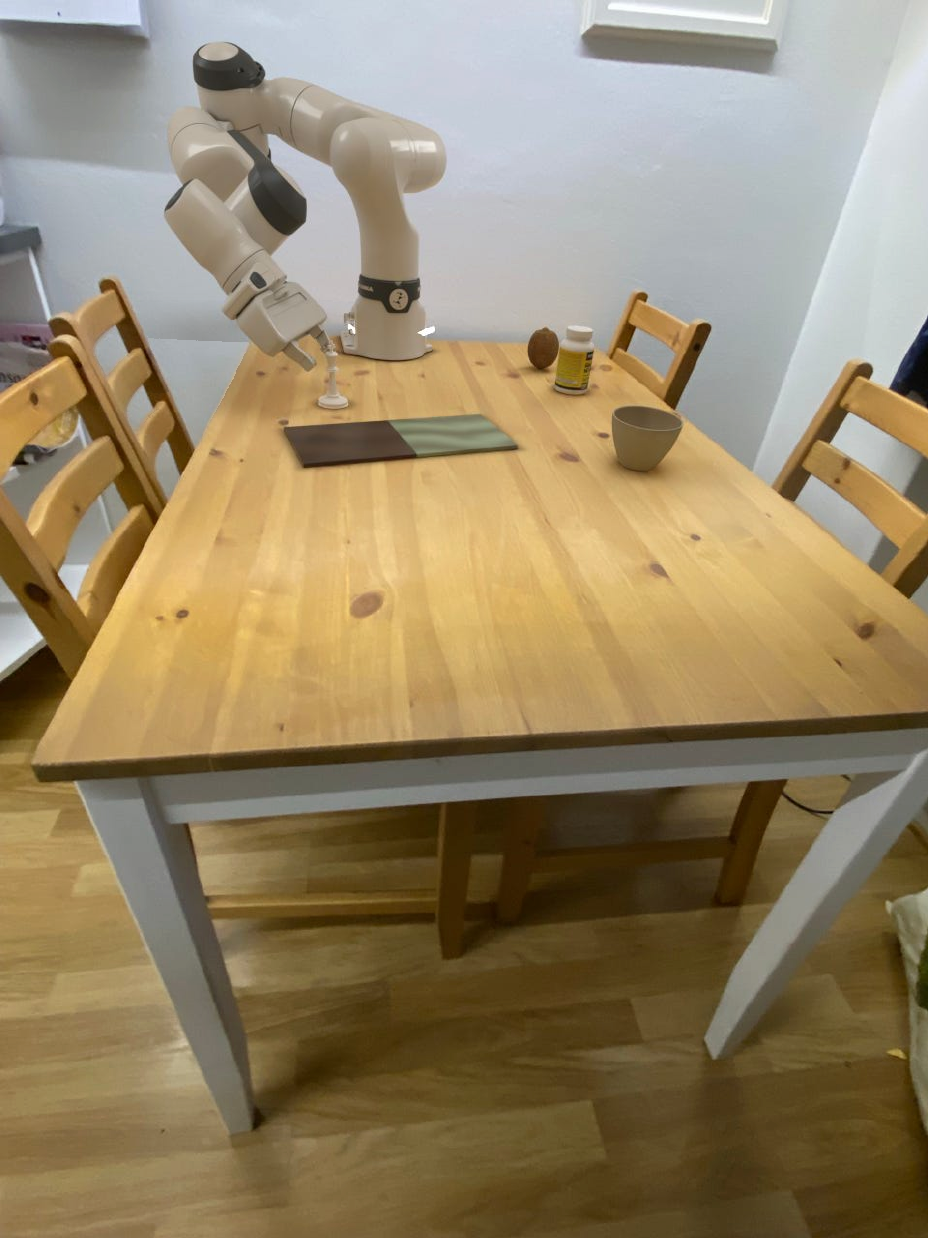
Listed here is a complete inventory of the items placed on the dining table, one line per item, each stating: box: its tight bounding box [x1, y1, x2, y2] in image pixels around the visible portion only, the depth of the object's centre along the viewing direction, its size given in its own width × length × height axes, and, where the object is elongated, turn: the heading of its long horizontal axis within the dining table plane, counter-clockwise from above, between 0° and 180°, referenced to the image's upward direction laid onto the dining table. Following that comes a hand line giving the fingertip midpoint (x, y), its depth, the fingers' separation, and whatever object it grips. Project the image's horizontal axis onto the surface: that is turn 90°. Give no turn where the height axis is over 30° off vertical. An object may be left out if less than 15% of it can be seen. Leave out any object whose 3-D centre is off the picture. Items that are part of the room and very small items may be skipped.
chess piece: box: [317, 339, 349, 410], centre depth 112 cm, size 5×5×10 cm
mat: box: [283, 413, 519, 468], centre depth 104 cm, size 14×32×1 cm, turn 112°
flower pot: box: [611, 404, 684, 472], centre depth 100 cm, size 10×10×7 cm
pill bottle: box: [553, 325, 595, 396], centre depth 127 cm, size 6×6×11 cm
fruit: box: [527, 326, 560, 370], centre depth 139 cm, size 6×6×8 cm
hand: (323, 360), depth 111 cm, fingers open, 8 cm apart
